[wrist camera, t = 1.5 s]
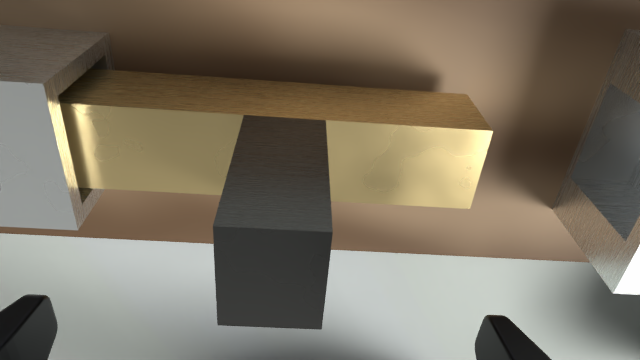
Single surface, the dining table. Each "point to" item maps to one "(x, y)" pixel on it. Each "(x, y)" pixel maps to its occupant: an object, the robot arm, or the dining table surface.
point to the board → (377, 72)
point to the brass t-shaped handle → (273, 167)
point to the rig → (76, 203)
